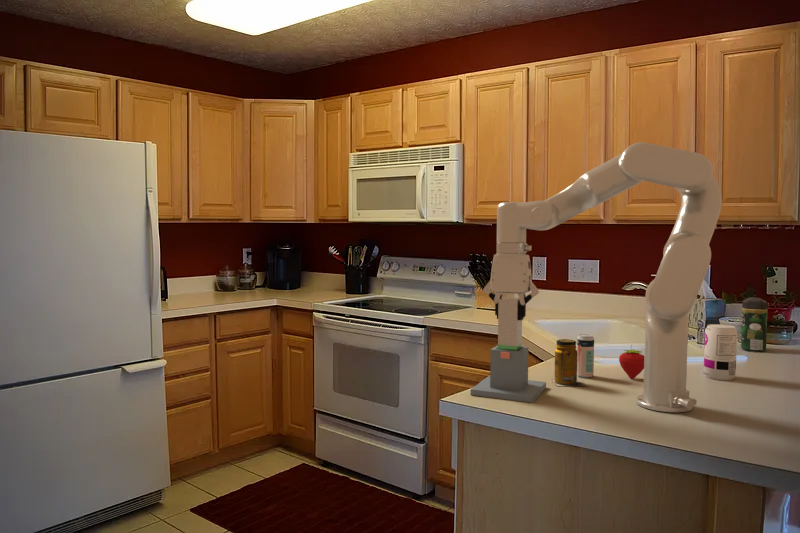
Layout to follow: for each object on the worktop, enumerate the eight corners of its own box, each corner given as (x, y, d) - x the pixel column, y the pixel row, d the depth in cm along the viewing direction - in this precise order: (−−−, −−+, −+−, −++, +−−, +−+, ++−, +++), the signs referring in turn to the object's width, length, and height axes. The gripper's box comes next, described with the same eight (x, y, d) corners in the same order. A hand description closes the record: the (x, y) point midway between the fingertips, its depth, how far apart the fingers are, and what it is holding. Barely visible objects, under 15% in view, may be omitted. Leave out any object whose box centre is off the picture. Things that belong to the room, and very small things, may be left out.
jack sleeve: (546, 387, 166) (546, 345, 165) (532, 402, 151) (533, 356, 150) (488, 381, 172) (489, 340, 172) (470, 395, 158) (470, 350, 157)
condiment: (550, 380, 174) (551, 338, 173) (580, 380, 174) (581, 338, 173) (556, 386, 167) (557, 343, 166) (588, 386, 167) (588, 343, 166)
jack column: (521, 361, 163) (522, 298, 162) (516, 365, 158) (517, 300, 157) (502, 360, 165) (503, 297, 164) (497, 363, 160) (498, 299, 159)
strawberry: (644, 382, 171) (645, 347, 170) (616, 379, 175) (617, 344, 174) (648, 378, 176) (649, 344, 175) (620, 375, 180) (621, 341, 179)
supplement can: (699, 377, 177) (701, 326, 176) (708, 372, 183) (710, 322, 182) (730, 382, 172) (732, 329, 171) (738, 377, 178) (740, 325, 177)
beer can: (580, 373, 182) (581, 333, 181) (595, 376, 179) (596, 335, 178) (573, 376, 178) (574, 335, 177) (589, 379, 175) (590, 337, 174)
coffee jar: (740, 346, 224) (742, 295, 223) (765, 348, 220) (767, 297, 219) (740, 350, 216) (742, 298, 214) (766, 353, 212) (768, 299, 211)
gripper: (547, 249, 159) (545, 319, 160) (483, 248, 166) (483, 315, 168) (540, 250, 152) (539, 323, 154) (475, 249, 160) (474, 318, 161)
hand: (510, 318), depth 161 cm, fingers closed on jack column, 5 cm apart
